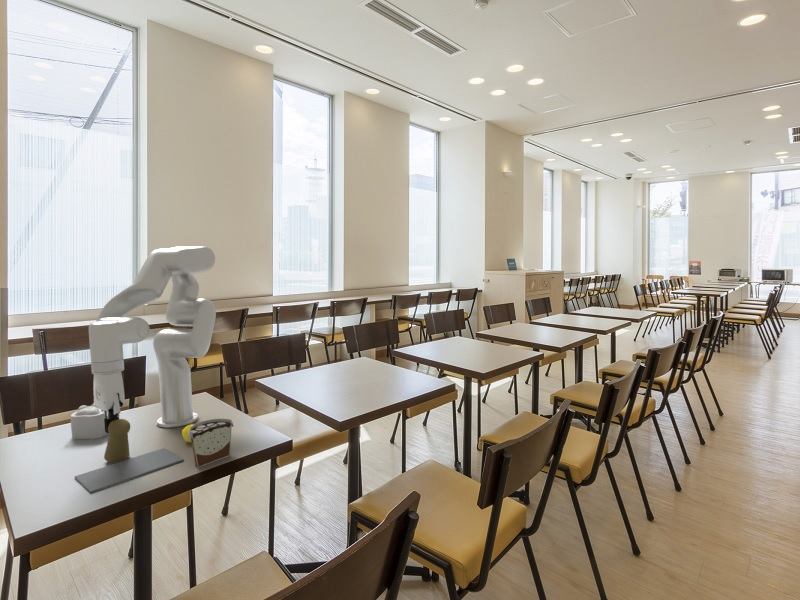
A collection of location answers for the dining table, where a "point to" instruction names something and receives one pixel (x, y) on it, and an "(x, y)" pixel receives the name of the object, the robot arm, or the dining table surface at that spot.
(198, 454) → the food container
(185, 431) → the lemon
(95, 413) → the lumpy-topped squat cylinder
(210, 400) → the dining table surface
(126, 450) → the cork
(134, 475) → the mat
